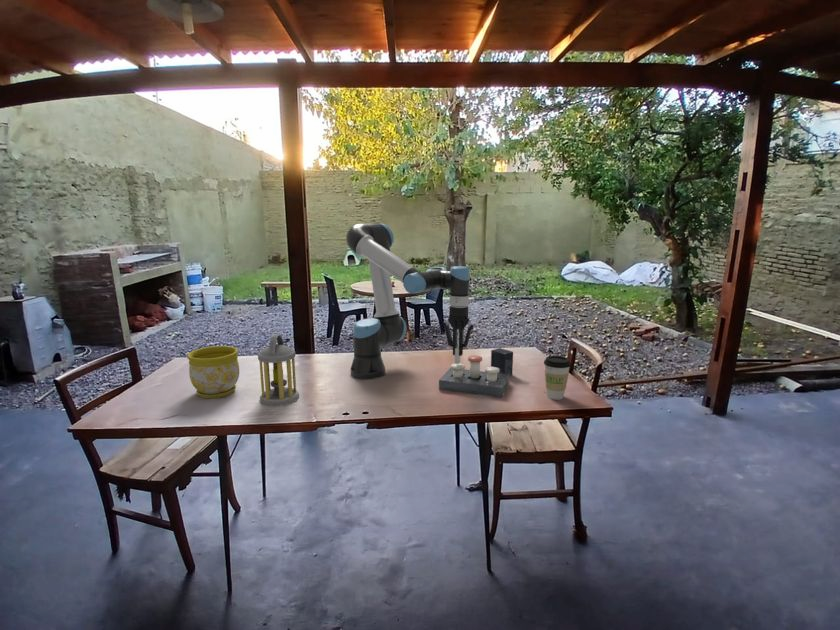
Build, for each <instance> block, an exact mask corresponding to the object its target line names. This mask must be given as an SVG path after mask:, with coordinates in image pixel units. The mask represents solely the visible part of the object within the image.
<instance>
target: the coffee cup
mask: <svg viewBox="0 0 840 630" xmlns="http://www.w3.org/2000/svg"><path fill="white" fill-rule="evenodd" d="M543 364H544V368H545V369H544V373H545V374H544V377H545V388H546V398H548V399H551V400H557V401H559V400H560V401H561V400H563V399H564V397H565V393H566V388H567V384H568V379H569V373H570V372H569V371H570V367H572V363H571V361H570V359H569V358H568V357H565V356H562V355H561V356H560V355H548V356H546V358H545V359H544V361H543Z"/></svg>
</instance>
